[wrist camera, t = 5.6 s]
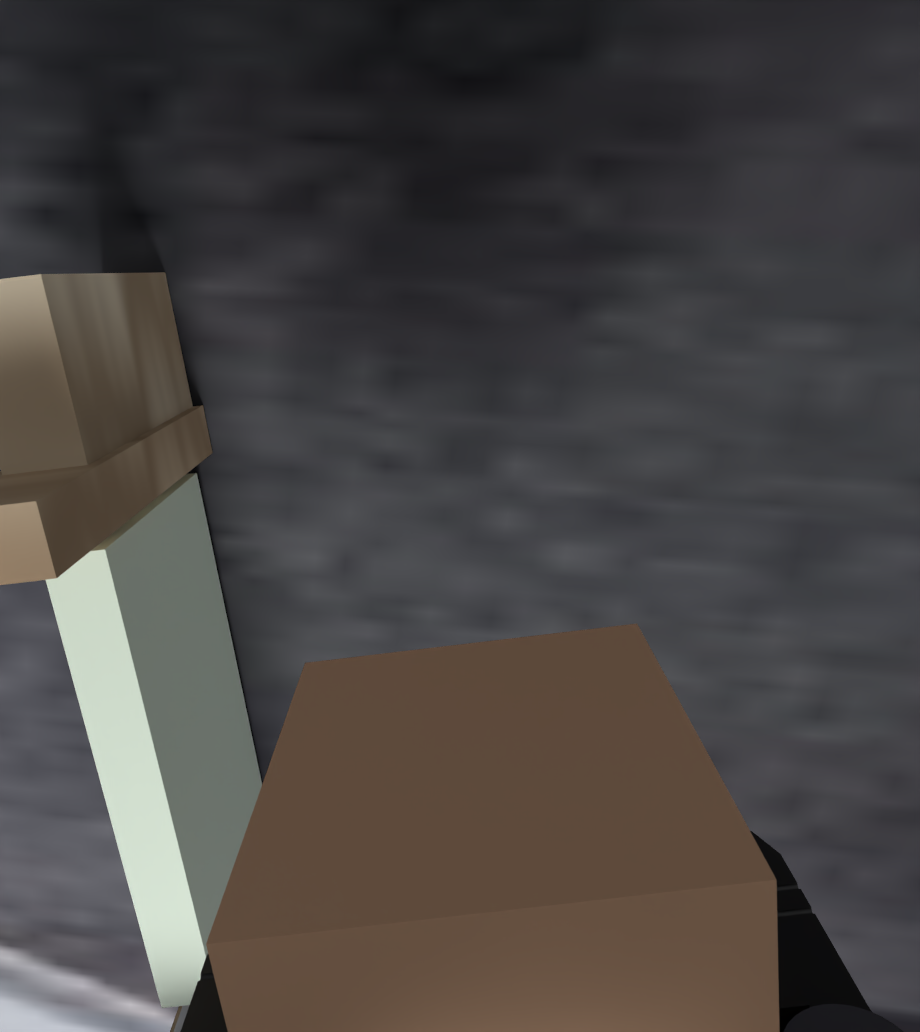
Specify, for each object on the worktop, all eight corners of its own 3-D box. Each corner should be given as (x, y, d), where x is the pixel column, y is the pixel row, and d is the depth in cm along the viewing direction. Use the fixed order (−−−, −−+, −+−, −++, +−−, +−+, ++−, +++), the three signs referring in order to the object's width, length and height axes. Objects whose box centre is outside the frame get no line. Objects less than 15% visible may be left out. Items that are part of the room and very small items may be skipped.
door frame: (91, 281, 20) (-172, 291, 11) (175, 271, 20) (-25, 272, 11) (261, 1016, 26) (173, 1383, 18) (325, 1009, 26) (268, 1373, 18)
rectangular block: (305, 662, 12) (205, 945, 7) (636, 623, 11) (775, 878, 7) (380, 1064, 13) (344, 1505, 9) (664, 1032, 13) (787, 1460, 9)
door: (106, 481, 21) (-42, 574, 15) (200, 469, 21) (94, 558, 15) (197, 862, 25) (110, 1076, 18) (280, 853, 25) (221, 1064, 18)
